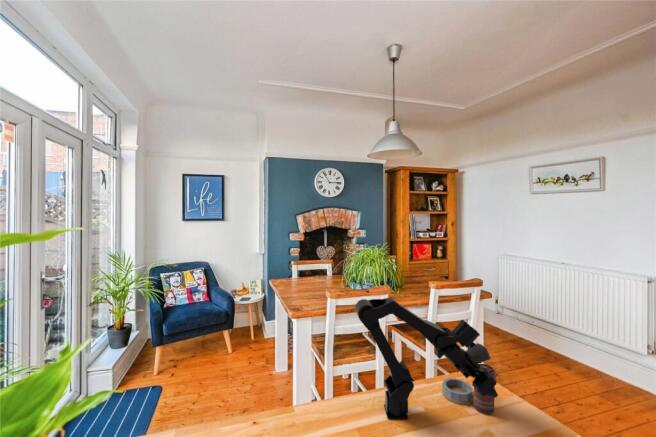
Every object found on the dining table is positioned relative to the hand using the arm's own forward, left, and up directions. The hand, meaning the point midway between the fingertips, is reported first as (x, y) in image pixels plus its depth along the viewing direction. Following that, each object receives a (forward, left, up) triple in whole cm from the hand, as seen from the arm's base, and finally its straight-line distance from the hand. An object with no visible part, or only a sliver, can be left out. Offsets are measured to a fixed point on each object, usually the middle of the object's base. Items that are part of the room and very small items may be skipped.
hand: (488, 387), depth 99 cm
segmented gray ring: (-7, +7, -7) cm, 12 cm away
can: (-1, 0, -7) cm, 8 cm away
